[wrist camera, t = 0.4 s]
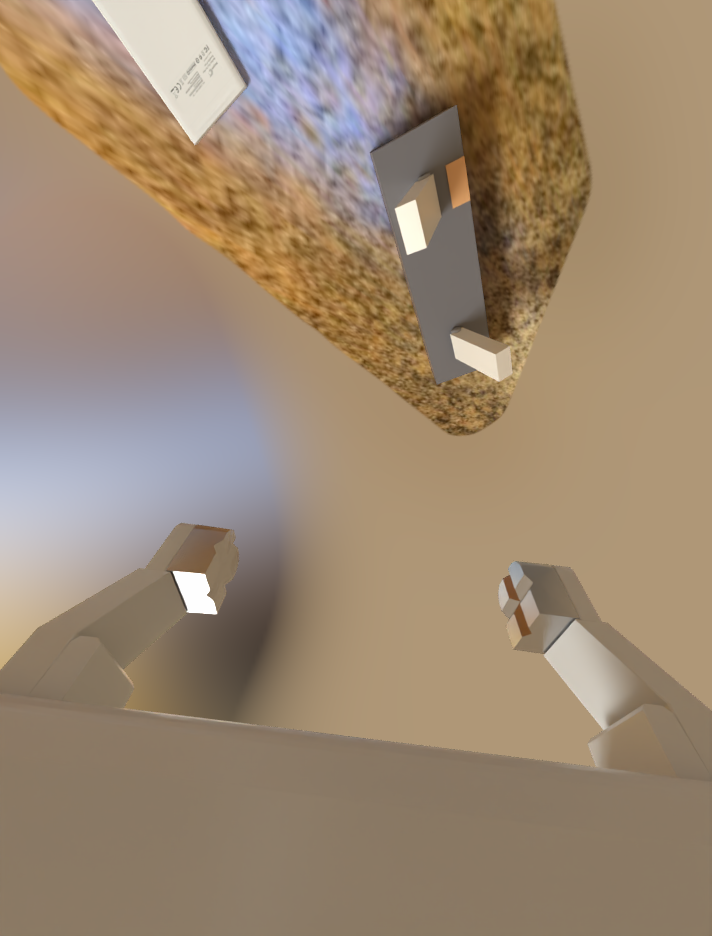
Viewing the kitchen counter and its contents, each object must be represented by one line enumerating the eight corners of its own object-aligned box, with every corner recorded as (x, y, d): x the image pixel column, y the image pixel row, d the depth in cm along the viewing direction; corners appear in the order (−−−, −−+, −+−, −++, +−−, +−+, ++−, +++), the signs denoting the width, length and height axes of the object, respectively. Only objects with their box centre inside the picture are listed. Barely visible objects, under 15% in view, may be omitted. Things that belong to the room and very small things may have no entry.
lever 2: (453, 358, 51) (499, 382, 43) (447, 331, 48) (495, 353, 40) (464, 351, 51) (512, 375, 43) (459, 324, 48) (509, 344, 40)
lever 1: (426, 223, 40) (407, 257, 33) (416, 178, 37) (394, 206, 30) (442, 216, 39) (427, 249, 32) (433, 169, 36) (414, 196, 29)
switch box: (431, 369, 58) (437, 385, 54) (369, 152, 39) (372, 153, 35) (483, 350, 56) (493, 364, 52) (445, 109, 36) (457, 104, 33)
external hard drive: (142, -100, 28) (249, 87, 35) (89, -11, 31) (198, 145, 38) (133, -111, 27) (245, 85, 34) (79, -17, 30) (193, 145, 37)
